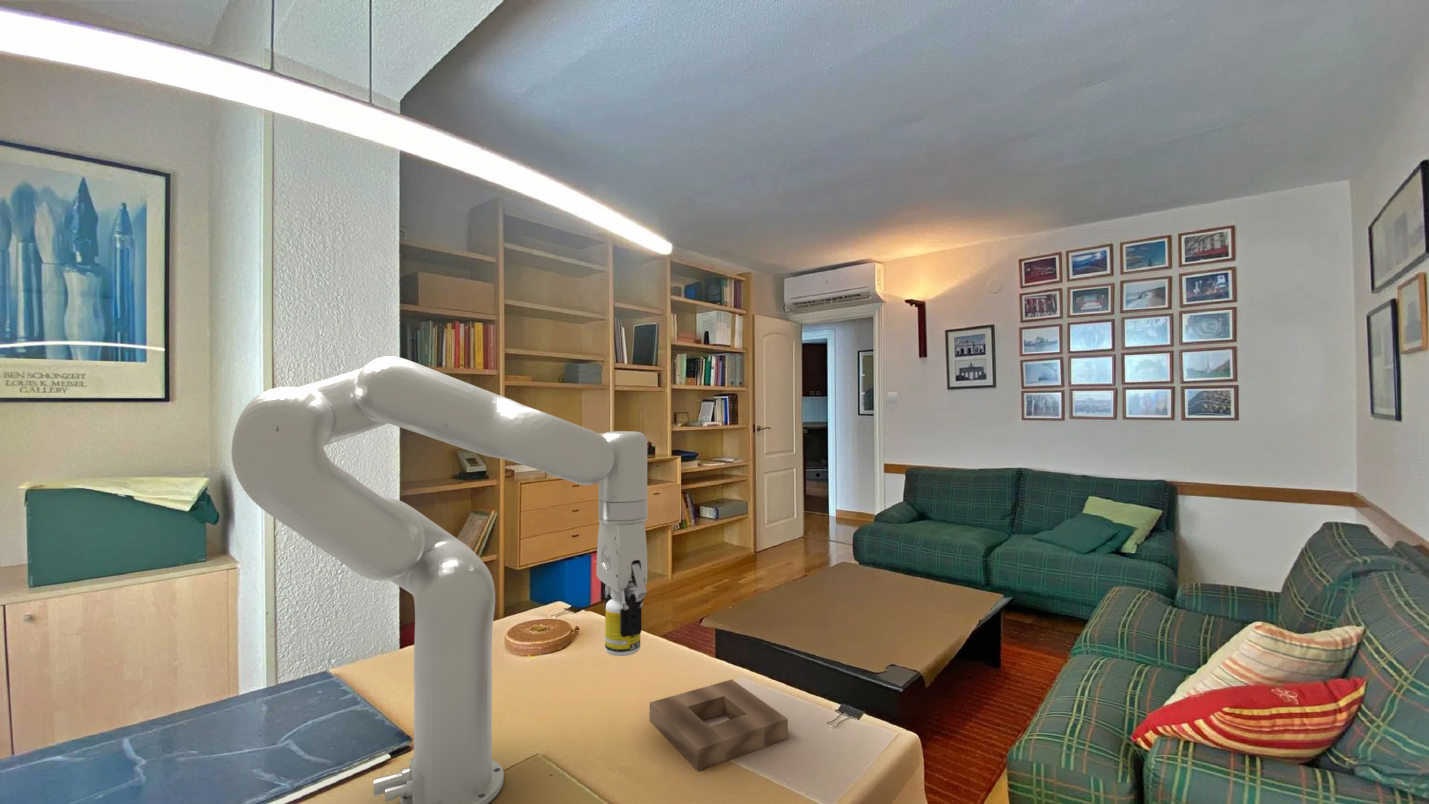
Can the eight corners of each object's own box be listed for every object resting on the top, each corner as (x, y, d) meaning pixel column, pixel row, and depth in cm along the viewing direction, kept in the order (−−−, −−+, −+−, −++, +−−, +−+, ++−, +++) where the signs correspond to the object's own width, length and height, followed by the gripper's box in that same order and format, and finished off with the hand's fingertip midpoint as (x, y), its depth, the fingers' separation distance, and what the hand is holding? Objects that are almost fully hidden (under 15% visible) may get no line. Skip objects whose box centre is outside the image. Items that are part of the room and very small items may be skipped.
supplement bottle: (633, 658, 89) (634, 592, 89) (599, 655, 90) (599, 590, 90) (645, 644, 94) (645, 582, 94) (612, 642, 95) (612, 580, 95)
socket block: (697, 771, 83) (697, 749, 83) (649, 720, 97) (649, 702, 97) (787, 738, 92) (787, 718, 92) (732, 696, 105) (731, 679, 105)
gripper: (581, 505, 98) (581, 616, 97) (621, 521, 83) (621, 652, 82) (624, 502, 101) (624, 608, 101) (669, 516, 87) (669, 641, 86)
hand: (622, 627), depth 92 cm, fingers closed on supplement bottle, 5 cm apart
